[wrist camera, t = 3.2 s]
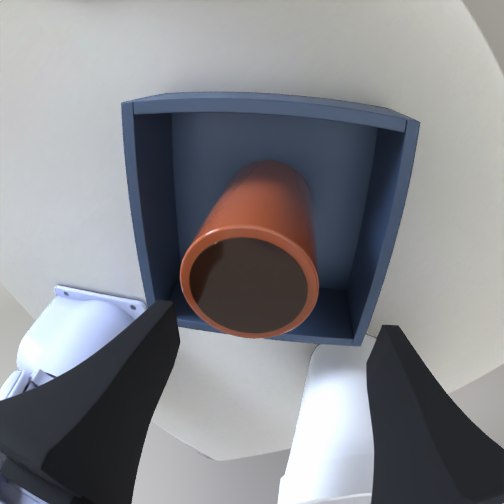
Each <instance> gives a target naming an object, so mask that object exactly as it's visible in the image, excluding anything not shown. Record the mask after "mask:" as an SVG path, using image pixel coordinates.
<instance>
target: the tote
mask: <svg viewBox="0 0 504 504" xmlns="http://www.w3.org/2000/svg"><path fill="white" fill-rule="evenodd" d="M121 108H122V127H123V141H124V153H125V164H126V174H127V184H128V192H129V200H130V208H131V215H132V222H133V229H134V236H135V242H136V248H137V254H138V260H139V266H140V271H141V276H142V282H143V287H144V292H145V297H146V301H147V306H148V308H149V307H150V306H151V305H152V304H153V303H155V302H156V301H157V300H158V299H159V300H165V301H171V302H174V304H175V311H176V318H177V324H178V327H184V328H190V329H197V330H203V331H210V332H217V333H224V334H227V333H225V332H222V331H220V330H218V329H216V328H214V327H212V326H211V325H209V324H208V323H206V322H205V321H204V320H202V319H201V318H200V317H199V316H198V315H197V314H196V313H195V312H194V311H193V309H192V308H191V307H190V305H189V304H188V302H187V300H186V299H185V297H184V294H183V291H182V288H181V283H180V267H181V263H182V260H183V257H184V255H185V253H186V251H187V249H188V248H189V246H190V244H191V243H192V241H193V239H194V238H195V236H196V234H197V233H198V231H199V229H200V228H201V226H202V224H203V223H204V221H205V219H206V218H207V216H208V214H209V213H210V211H211V209H212V208H213V206H214V205H215V203H216V201H217V200H218V198H219V196H220V195H221V193H222V192H223V190H224V188H225V187H226V185H227V184H228V182H229V180H230V179H231V178H232V176H233V175H234V174H235V173H236V172H237V171H238V170H239V169H241V168H242V167H244V166H246V165H248V164H250V163H253V162H257V161H263V160H271V161H277V162H281V163H284V164H286V165H288V166H290V167H292V168H294V169H295V170H296V171H297V172H299V173H300V174H301V175H302V176H303V178H304V179H305V180H306V182H307V184H308V185H309V188H310V190H311V194H312V200H313V210H314V221H315V233H316V246H317V259H318V274H319V295H318V299H317V302H316V305H315V307H314V309H313V310H312V312H311V313H310V315H309V316H308V317H307V318H306V319H305V321H304V322H302V323H301V324H300V325H299V326H297V327H296V328H294V329H293V330H291V331H289V332H286V333H284V334H281V335H278V336H274V337H270V338H264V339H273V340H282V341H292V342H303V343H314V344H327V345H342V346H361V345H362V342H363V339H364V337H365V334H366V331H367V329H368V326H369V323H370V320H371V318H372V315H373V312H374V309H375V306H376V303H377V300H378V297H379V294H380V291H381V288H382V285H383V282H384V279H385V275H386V272H387V269H388V265H389V262H390V259H391V255H392V252H393V248H394V244H395V241H396V237H397V233H398V229H399V226H400V222H401V218H402V214H403V209H404V205H405V201H406V196H407V192H408V187H409V183H410V178H411V173H412V168H413V163H414V157H415V152H416V146H417V140H418V134H419V127H420V122H419V121H417V120H415V119H412V118H410V117H408V116H405V115H403V114H400V113H398V112H395V111H393V110H390V109H388V108H383V107H378V106H372V105H366V104H360V103H354V102H347V101H340V100H333V99H325V98H316V97H307V96H296V95H284V94H269V93H249V92H183V93H165V94H159V95H154V96H149V97H144V98H140V99H135V100H131V101H126V102H122V103H121Z"/></svg>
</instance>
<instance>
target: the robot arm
mask: <svg viewBox="0 0 504 504" xmlns="http://www.w3.org/2000/svg"><path fill="white" fill-rule="evenodd" d="M54 290H55V293H56V297H55V299H54V300H53V301H52V302H51V303H50V305H49V306H48V307H47V308H46V309H45V311H44V312H43V313H42V314H41V315H40V317H39V318H38V319H37V320H36V322H35V323H34V324H33V326H32V327H31V328H30V329H29V331H28V332H27V333H26V334H25V336H24V338H23V339H22V341H21V343H20V346H19V350H18V355H17V366H18V371H14V372H13V373H12V374H11V376H10V377H9V378H8V379H7V381H6V382H5V383H4V385H3V386H2V388H1V389H0V504H131V503H132V496H133V490H134V484H135V479H136V474H137V469H138V465H139V461H140V457H141V453H142V448H143V445H144V441H145V438H146V434H147V431H148V427H149V424H150V421H151V418H152V416H153V413H154V411H155V408H156V406H157V404H158V401H159V399H160V397H161V394H162V392H163V390H164V387H165V385H166V383H167V380H168V378H169V376H170V373H171V371H172V369H173V366H174V363H175V359H176V356H177V352H178V349H179V345H180V337H179V331H178V324H177V318H176V311H175V304H174V302H171V301H165V300H159V299H158V300H157V301H156V302H155V303H153V304H152V305H151V306H150V307H149V308H148V309H146V306H145V304H144V303H143V302H141V301H137V300H131V299H125V298H120V297H114V296H109V295H104V294H98V293H93V292H88V291H83V290H78V289H74V288H69V287H64V286H59V285H57V286H56V287H55V288H54ZM133 305H134V306H133ZM366 377H367V393H368V401H369V408H370V416H371V424H372V432H373V441H374V473H373V487H372V498H371V504H502V503H504V449H503V448H502V447H501V446H499V445H498V444H497V443H496V442H494V441H493V440H492V439H491V438H489V437H488V436H487V435H486V434H485V433H484V432H483V431H481V430H480V429H479V428H478V427H477V426H476V425H475V424H474V423H473V422H472V421H471V420H470V419H469V418H468V417H467V416H466V415H465V414H464V413H463V412H462V410H461V409H460V408H459V407H458V406H457V405H456V404H455V403H454V402H453V400H452V399H451V398H450V397H449V396H448V394H447V393H446V392H445V391H444V389H443V388H442V387H441V385H440V384H439V383H438V382H437V380H436V379H435V378H434V376H433V375H432V373H431V372H430V371H429V369H428V368H427V366H426V365H425V364H424V362H423V361H422V359H421V358H420V356H419V355H418V353H417V352H416V351H415V349H414V348H413V346H412V345H411V343H410V342H409V340H408V339H407V337H406V336H405V334H404V333H403V331H402V330H401V329H400V327H399V326H396V325H382V327H381V330H380V332H379V335H378V337H377V339H376V342H375V344H374V346H373V349H372V351H371V353H370V356H369V358H368V360H367V362H366Z"/></svg>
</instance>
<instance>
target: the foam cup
mask: <svg viewBox="0 0 504 504" xmlns="http://www.w3.org/2000/svg"><path fill="white" fill-rule="evenodd" d="M375 342H376V338H374V337H371V336H369V335H367V334H365V337H364V339H363V342H362V345H361V346H342V345H327V344H320V345H319V346H317V347H316V349H315V351H314V353H313V354H312V356H311V358H310V363H309V368H308V373H307V378H306V383H305V388H304V393H303V398H302V403H301V408H300V412H299V417H298V422H297V426H296V430H295V435H294V439H293V443H292V448H291V452H290V456H289V460H288V464H287V468H286V472H285V475H284V476H283V477H282V478H281V479H280V488H279V496H278V504H371V498H372V487H373V473H374V441H373V432H372V424H371V416H370V408H369V401H368V393H367V377H366V362H367V360H368V358H369V356H370V353H371V351H372V349H373V346H374V344H375Z"/></svg>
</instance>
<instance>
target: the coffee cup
mask: <svg viewBox="0 0 504 504" xmlns="http://www.w3.org/2000/svg"><path fill="white" fill-rule="evenodd" d="M180 283H181V288H182V291H183V294H184V297H185V299H186V300H187V302H188V304H189V305H190V307H191V308H192V309H193V311H194V312H195V313H196V314H197V315H198V316H199V317H200V318H201V319H202V320H204V321H205V322H206V323H208V324H209V325H211V326H212V327H214V328H216V329H218V330H220V331H222V332H225V333H227V334H230V335H234V336H238V337H243V338H253V339H255V338H270V337H274V336H278V335H281V334H284V333H286V332H289V331H291V330H293V329H294V328H296V327H297V326H299V325H300V324H301V323H302V322H304V321H305V319H306V318H307V317H308V316H309V315H310V313H311V312H312V310H313V309H314V307H315V305H316V302H317V299H318V295H319V274H318V259H317V246H316V233H315V221H314V210H313V200H312V194H311V190H310V188H309V185H308V184H307V182H306V180H305V179H304V178H303V176H302V175H301V174H300V173H299V172H297V171H296V170H295V169H294V168H292V167H290V166H288V165H286V164H284V163H281V162H277V161H271V160H263V161H257V162H253V163H250V164H248V165H246V166H244V167H242V168H241V169H239V170H238V171H237V172H236V173H235V174H234V175H233V176H232V178H231V179H230V180H229V182H228V184H227V185H226V187H225V188H224V190H223V192H222V193H221V195H220V196H219V198H218V200H217V201H216V203H215V205H214V206H213V208H212V209H211V211H210V213H209V214H208V216H207V218H206V219H205V221H204V223H203V224H202V226H201V228H200V229H199V231H198V233H197V234H196V236H195V238H194V239H193V241H192V243H191V244H190V246H189V248H188V249H187V251H186V253H185V255H184V257H183V260H182V263H181V267H180Z"/></svg>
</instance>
